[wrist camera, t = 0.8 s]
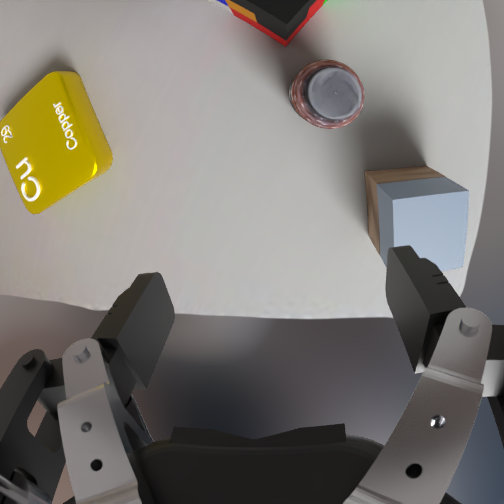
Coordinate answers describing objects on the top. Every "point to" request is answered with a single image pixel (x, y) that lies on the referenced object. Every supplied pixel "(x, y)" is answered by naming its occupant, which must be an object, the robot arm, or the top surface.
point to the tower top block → (424, 219)
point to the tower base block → (388, 177)
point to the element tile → (53, 141)
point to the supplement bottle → (327, 94)
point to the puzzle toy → (273, 15)
